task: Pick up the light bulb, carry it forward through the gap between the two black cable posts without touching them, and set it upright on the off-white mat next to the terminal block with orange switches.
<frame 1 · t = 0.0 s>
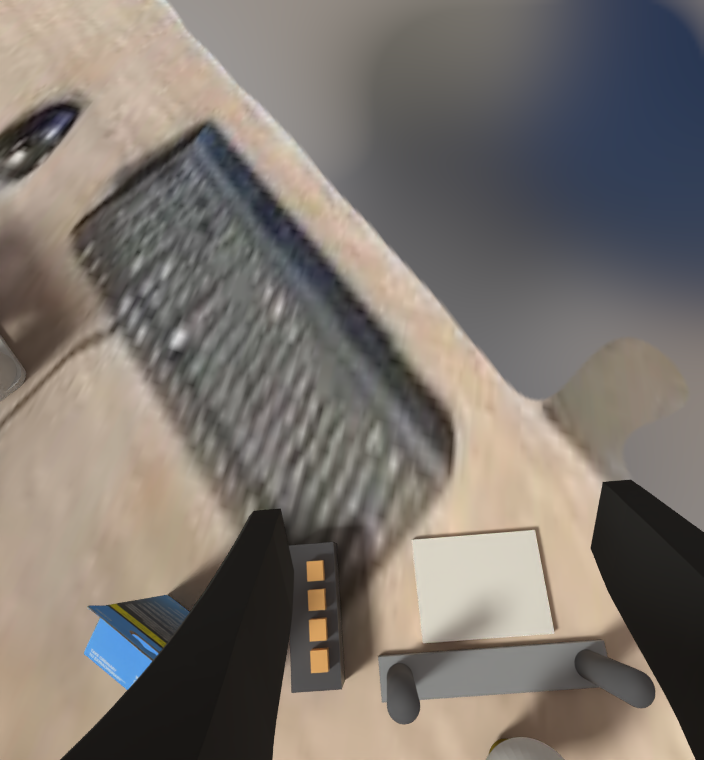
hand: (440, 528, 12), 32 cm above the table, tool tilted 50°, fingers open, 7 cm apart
mat: (479, 584, 41), on the table
light bulb: (504, 755, 37), on the table
terminal block: (318, 610, 41), on the table
cable posts: (492, 669, 39), on the table
blue retail box: (195, 647, 41), on the table
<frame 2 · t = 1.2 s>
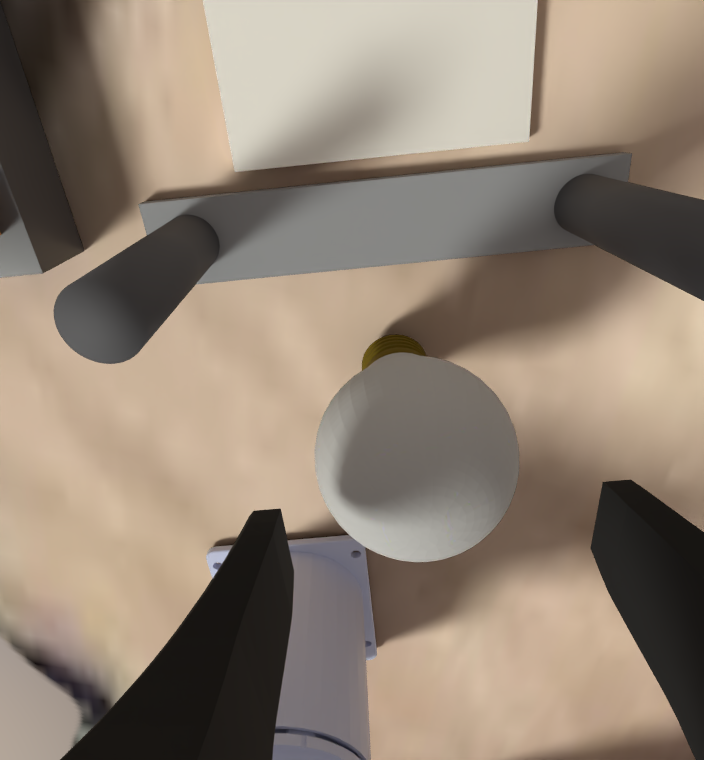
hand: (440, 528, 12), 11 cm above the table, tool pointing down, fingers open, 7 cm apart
mat: (371, 24, 16), on the table
light bulb: (392, 353, 21), on the table
cable posts: (383, 220, 19), on the table
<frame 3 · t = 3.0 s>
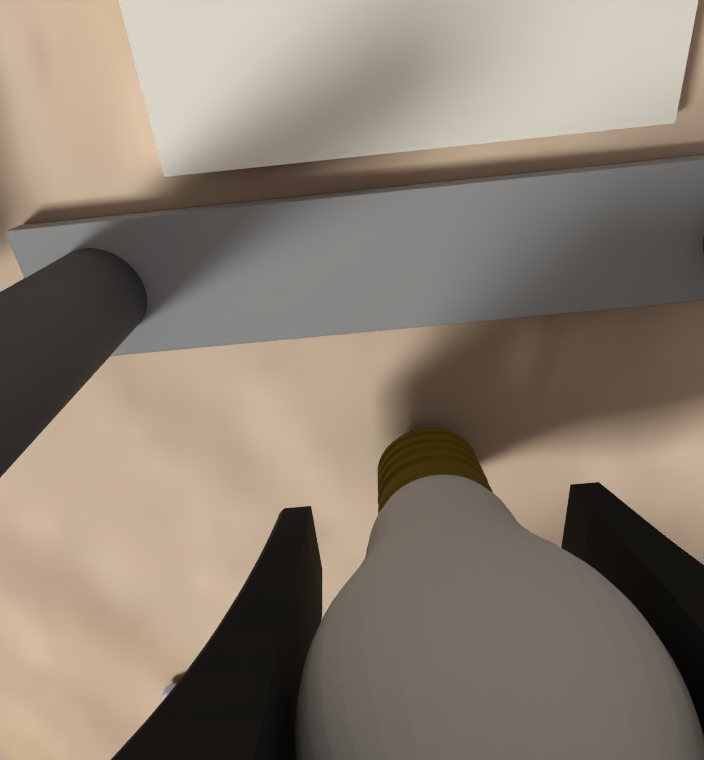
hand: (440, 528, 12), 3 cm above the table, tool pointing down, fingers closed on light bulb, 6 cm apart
light bulb: (421, 446, 14), on the table, touching gripper
cable posts: (416, 254, 11), on the table
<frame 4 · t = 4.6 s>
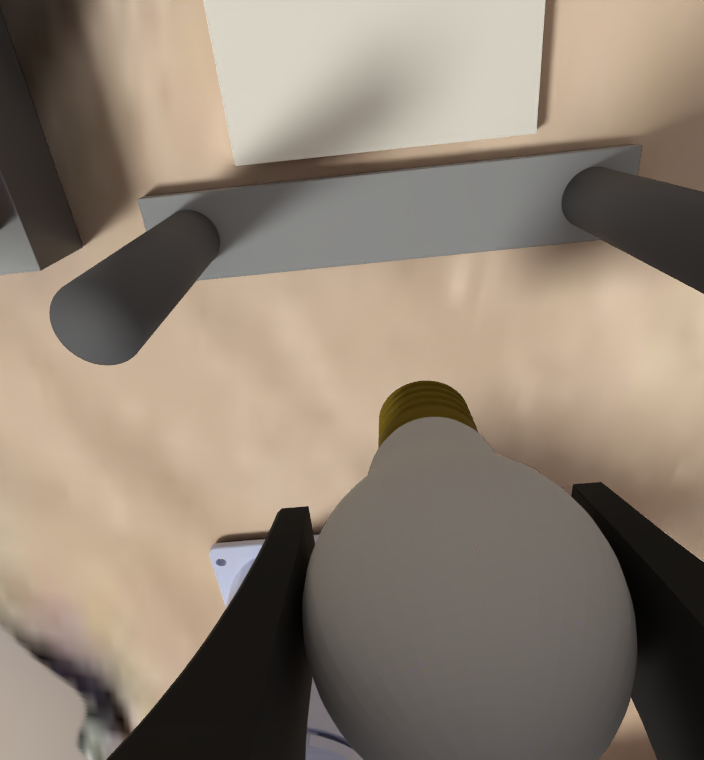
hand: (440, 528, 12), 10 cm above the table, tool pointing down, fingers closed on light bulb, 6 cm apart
mat: (374, 12, 16), on the table
light bulb: (420, 400, 16), point 5 cm above the table, touching gripper
cable posts: (387, 215, 18), on the table
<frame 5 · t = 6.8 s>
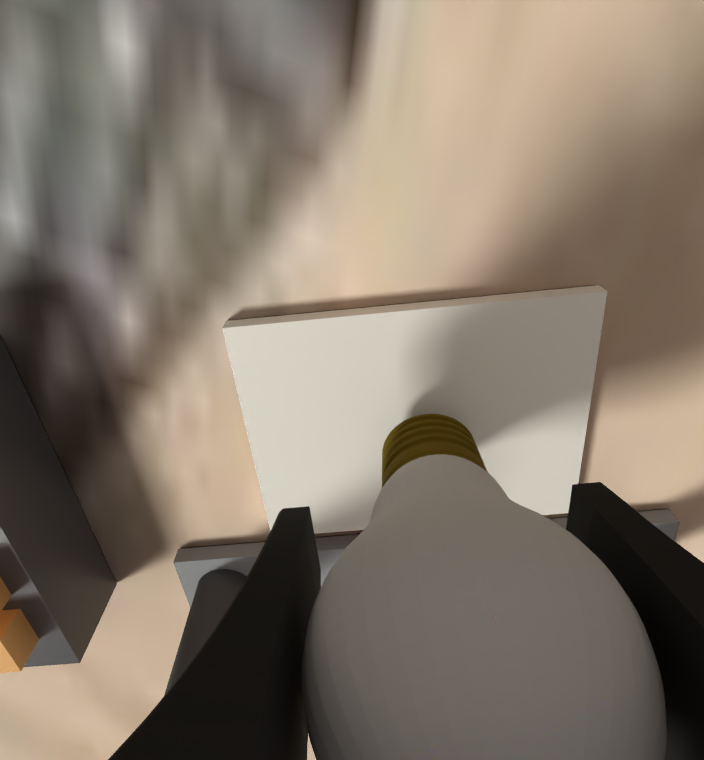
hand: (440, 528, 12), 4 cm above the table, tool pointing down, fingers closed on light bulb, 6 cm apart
mat: (415, 421, 15), on the table
light bulb: (424, 431, 15), resting on mat, touching gripper
terminal block: (12, 482, 16), on the table
cable posts: (421, 559, 18), on the table
when the fingers open (4 cm above the table, at t = 7.7 s): light bulb stays where it is, resting on mat.
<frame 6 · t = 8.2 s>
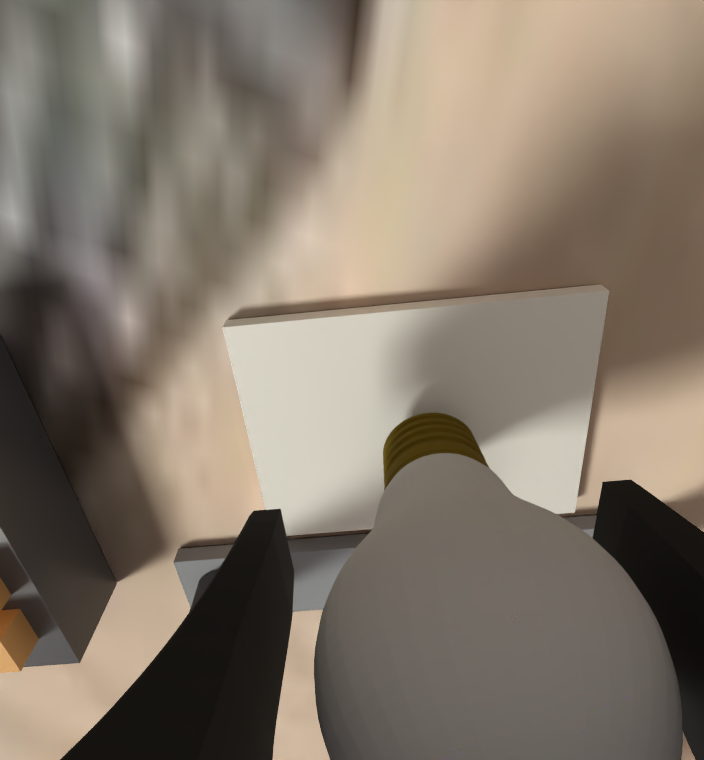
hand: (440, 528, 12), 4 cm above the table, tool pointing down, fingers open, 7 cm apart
mat: (416, 420, 15), on the table
light bulb: (424, 431, 15), resting on mat
terminal block: (12, 482, 16), on the table
cable posts: (421, 559, 18), on the table
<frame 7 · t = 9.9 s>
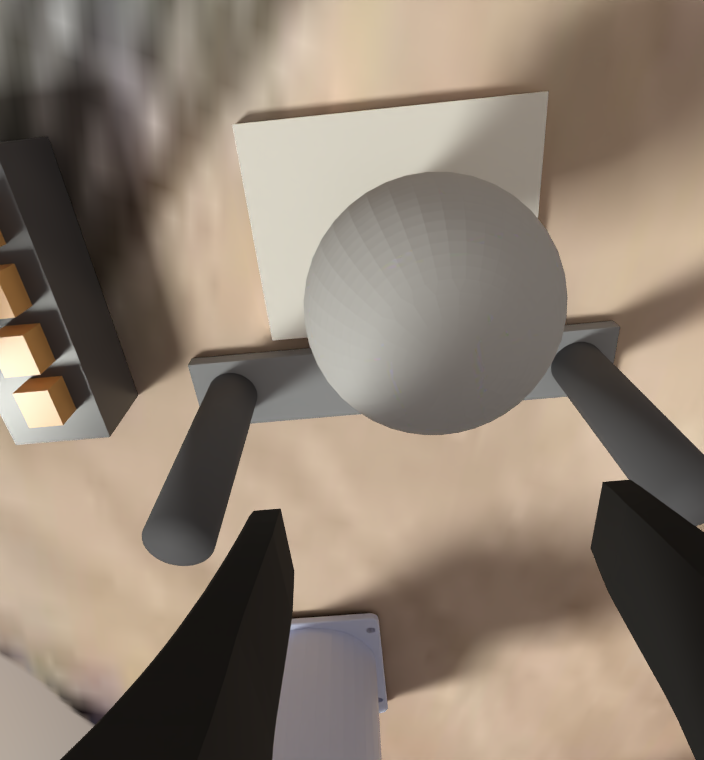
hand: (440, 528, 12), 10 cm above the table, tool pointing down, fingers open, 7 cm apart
mat: (393, 226, 18), on the table
light bulb: (400, 233, 18), resting on mat
terminal block: (52, 286, 19), on the table
cable posts: (401, 372, 21), on the table
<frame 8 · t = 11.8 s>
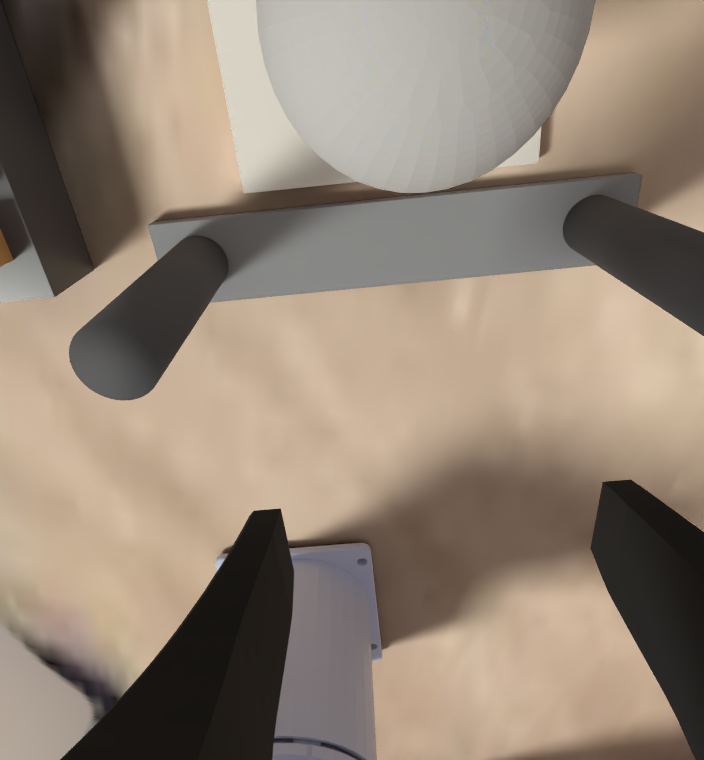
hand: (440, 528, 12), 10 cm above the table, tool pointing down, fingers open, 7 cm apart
mat: (381, 46, 16), on the table
light bulb: (388, 52, 16), resting on mat
cable posts: (392, 240, 19), on the table
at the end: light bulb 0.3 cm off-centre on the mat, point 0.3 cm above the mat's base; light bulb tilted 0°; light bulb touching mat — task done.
